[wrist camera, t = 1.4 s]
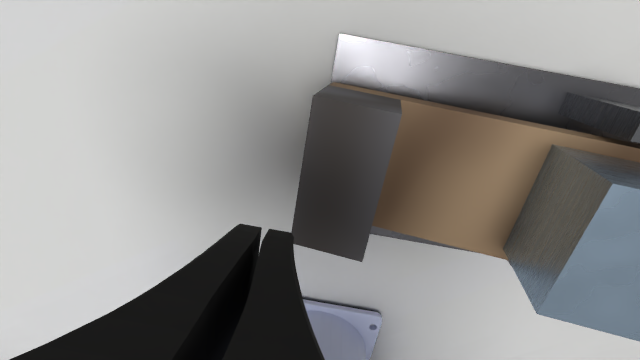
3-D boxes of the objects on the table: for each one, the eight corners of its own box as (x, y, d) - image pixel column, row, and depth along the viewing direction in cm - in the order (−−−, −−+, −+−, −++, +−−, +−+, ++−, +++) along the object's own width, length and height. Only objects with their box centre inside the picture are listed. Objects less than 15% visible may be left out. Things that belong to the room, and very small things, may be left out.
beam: (973, 212, 12) (1235, 288, 8) (841, 330, 15) (999, 431, 11) (333, 82, 15) (313, 95, 11) (312, 198, 18) (290, 242, 14)
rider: (621, 278, 15) (696, 356, 11) (502, 248, 15) (536, 313, 12) (693, 173, 13) (814, 227, 9) (552, 144, 13) (613, 183, 9)
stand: (838, 125, 16) (1037, 163, 11) (704, 287, 20) (812, 363, 15) (339, 33, 16) (338, 33, 11) (307, 217, 20) (296, 273, 15)
